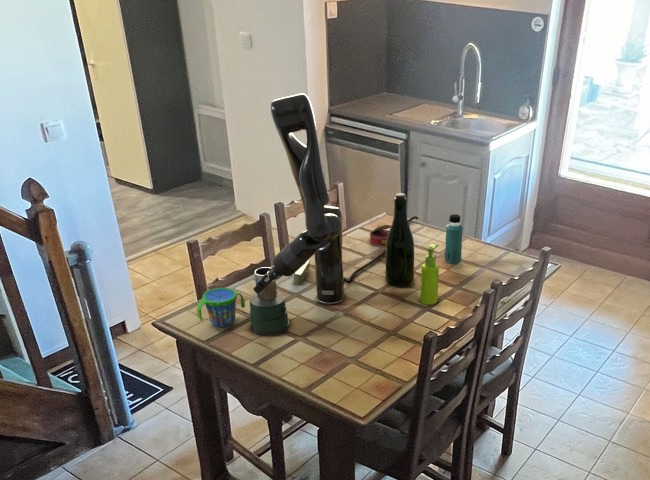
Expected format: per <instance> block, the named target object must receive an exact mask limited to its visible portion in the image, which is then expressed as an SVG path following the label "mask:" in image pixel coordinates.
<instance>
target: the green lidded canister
mask: <svg viewBox="0 0 650 480" xmlns="http://www.w3.org/2000/svg"><path fill="white" fill-rule="evenodd" d="M248 302H249V312H248V314H249V315H248V316H249V320H250V321H249V322H250V323H249V328H250V331H251V332H252V333H253V334H254V335H256V336H260V337H275V336H279V335H281V334H283V333H286V331H288V330H289V328H290V320H289V316H288V313H289V311H288V308H287V306H286V298H285V296H284V294H282V293H281V292H278V291H277V298H276V299H274V300H272V301H261V300H259V299H258V298H257V293H255V294H253V295H251V297H250V299H249V301H248Z"/></svg>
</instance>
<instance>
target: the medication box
mask: <svg viewBox="0 0 650 480" xmlns="http://www.w3.org/2000/svg"><path fill="white" fill-rule="evenodd" d="M310 265H311V263H310V260H307V262H306V263H305V264H304V265H303V266H302V267H301V268H300V269H299V270H297V271H296V272H295V273H294V274H293V284H295V285H301V284H302V282H303V281H304V280H305V277H306V276H307V274H308V273H309V271H310Z"/></svg>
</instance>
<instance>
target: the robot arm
mask: <svg viewBox="0 0 650 480" xmlns="http://www.w3.org/2000/svg"><path fill="white" fill-rule="evenodd" d="M312 106H313V105H312V103H311V101H310V99H309V97H308V96H307V94H305V93H297V94H294V95H289V96H285V97H280V98H277V99H274V100H273V101H271V103H270V114H271V118H272V121H273V123H274V126H275V128H276V131H277V134H278V136H279V138H280V141H281V143H282V145H283V148H284V150H285V154H286V156H287V160H288V163H289V167H290V170H291V173H292V177H293V179H294V182H295V185H296V188H297V191H298V193H299V197H300V199H301V202H302V207H303V211H304V216H305V217H304V219H305V228H306V230H305V231H302V232H301V233H299V234H298V235H297V236H296V237H295V238H293V240H292V241H290V242H289V243H287V244H286V245H285V246H284V247H283V248H282V249H281V250H280V251H279V252H278V253H277V254H276V255H275V256H274V257H273V258H272V259H273V260H272V263H273V266H272V267H270V268H271V269H270V270H269V272H267V273H266V274H265V275H264V276H263V278H262V279H261V280H260V281H259V282H258V283H257V285H256V284H255V286H254V287H253V289H252V290H253V291H254V293H255V294H259V293H260V292H261V291H262V290H264V288H266V287H267V286H268V285H271V284H273V283H274V282H275V281H278V280H280V279H281V278H283V276H284V277H292V276H294V274H295V272H296V271H297V270H299V269H300V268H301V267H302V266H303V265H304V264H305V263H306V262H307V261H309V259H310V258H312V257H314V267H315V269H314V270H315V285H316V286H315V287H316V301H317V302H318V303H320V304H323V305H329V306H330V305H331V306H333V305H337V304H340V303H342V302H343V301H344V300H345V283H346V284H348V283H351V281H352V280H353V278H354V277H355V276H356V275H357V274H358V273H359V272H361V271H363V270H364V269H366V268H367V267H369V266H371V265H372V264H374V263H375V262H376V261H378V260H380V259H381V258H382V257H383V256H385V255H386V249H385V250H384V251H382V252H381V253H380V254H379V255H377V256H376V257H375V258H373V259H372V260H370V261H369V262H368V263H365V264H364V265H362V266H360V267H359V268H357V269H356V270H354V272H352V274H351V275H350V276H349V278H348V279H347V278H345V277H344V268H343V266H344V265H343V227H344V226H343V225H344V224H343V223H344V222H343V220H344V219H343V212H342V209H341V208H340V207H337V206H329V205H328V204H329V203H330V194H329V190H328V186H327V182H326V174H325V170H324V167H323V163H322V157H321V149H320V142H319V137H318V130H317V125H316V119H315V114H314V109H313V107H312ZM301 131H305V134H306V145H305V144H304V143H302V141H300V140H298V138H296V136H295V135H294V134H293V133H297V132H301ZM419 219H420V218H419V217H418V216H417V215H414V216H412V217H410V218H409V219H407V220H408V224H409V223H410V222H412V221H413V220H419ZM268 274H269V276H268ZM272 280H273V281H272Z"/></svg>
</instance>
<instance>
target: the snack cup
mask: <svg viewBox="0 0 650 480" xmlns="http://www.w3.org/2000/svg"><path fill="white" fill-rule="evenodd" d="M238 296H239V297H240V303H239V304H240V307H241V308H243V309H244V308H245V307H246V302H245V298H244V296H243V295H242V294H241V293H240V292H238V291H236V290H234V289H231V288H229V287H216V288H212V289H209V290H206V291H205V292H204V293H203V294H202V298H201V299H200V301H199V302H198V303H197V307H196V313H197V317H198V319H199V320H200V321H204V320H203V316H202V307H203V306H204V305H205V308H206V311H207V314H208V317H209V321H210V323H211V325H212V326H213V327H217V328H227V327H230V326H231V325H234V324H235V321H236V306H237V305H236V303H237V299H238Z"/></svg>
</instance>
